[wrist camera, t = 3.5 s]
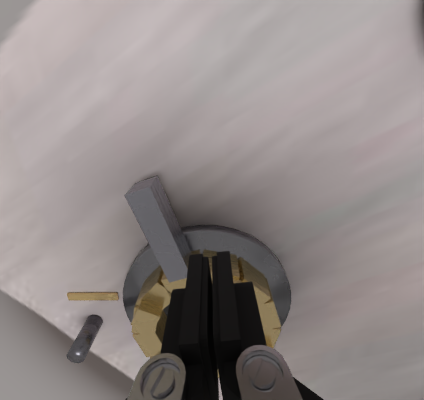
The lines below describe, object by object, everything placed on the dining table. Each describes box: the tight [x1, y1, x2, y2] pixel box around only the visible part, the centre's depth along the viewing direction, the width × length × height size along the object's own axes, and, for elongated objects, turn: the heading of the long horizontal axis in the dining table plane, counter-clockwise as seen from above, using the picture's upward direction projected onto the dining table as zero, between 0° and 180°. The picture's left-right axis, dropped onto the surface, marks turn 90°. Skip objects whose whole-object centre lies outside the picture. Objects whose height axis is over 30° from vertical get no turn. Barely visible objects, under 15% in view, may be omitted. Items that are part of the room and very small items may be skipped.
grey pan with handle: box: [125, 176, 281, 378], centre depth 21 cm, size 20×12×4 cm, turn 19°
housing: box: [67, 225, 291, 363], centre depth 23 cm, size 16×21×5 cm
